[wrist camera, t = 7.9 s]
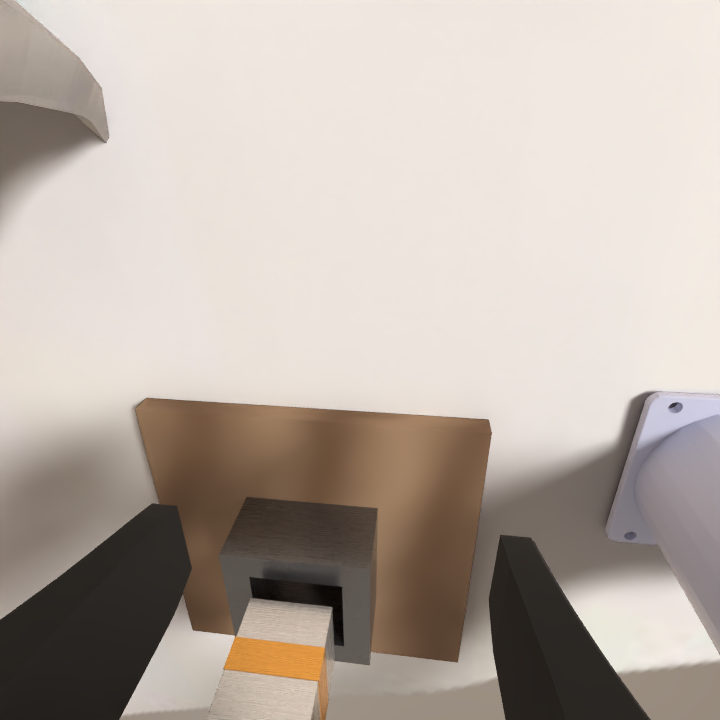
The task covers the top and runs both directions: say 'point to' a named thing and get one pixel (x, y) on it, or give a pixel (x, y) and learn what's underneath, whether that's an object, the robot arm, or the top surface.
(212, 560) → the base plate
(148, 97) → the top surface
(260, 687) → the post
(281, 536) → the sleeve
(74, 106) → the hammer
